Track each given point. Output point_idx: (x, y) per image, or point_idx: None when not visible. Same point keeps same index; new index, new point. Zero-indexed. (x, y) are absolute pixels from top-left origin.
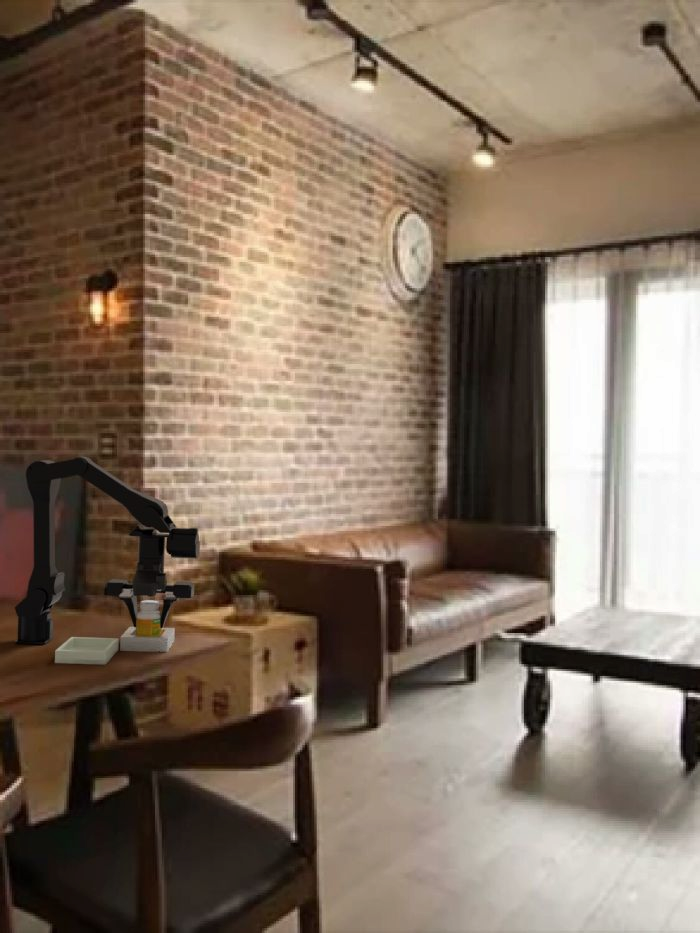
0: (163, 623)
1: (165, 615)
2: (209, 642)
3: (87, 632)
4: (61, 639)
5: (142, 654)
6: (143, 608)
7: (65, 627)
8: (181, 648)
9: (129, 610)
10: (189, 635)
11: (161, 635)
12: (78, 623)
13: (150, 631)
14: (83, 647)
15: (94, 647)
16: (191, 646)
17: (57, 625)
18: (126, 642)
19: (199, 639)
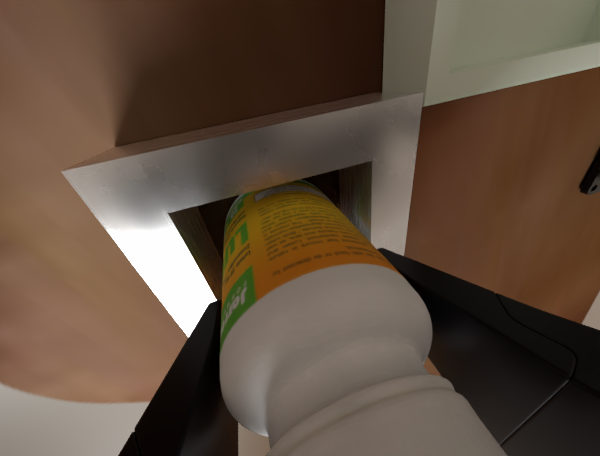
0: (193, 329)
1: (150, 410)
2: (71, 366)
3: (481, 280)
4: (556, 190)
5: (225, 34)
6: (425, 390)
7: (520, 292)
8: (104, 248)
9: (531, 309)
10: None
11: None
12: None
13: (258, 224)
14: (552, 14)
15: (503, 32)
16: (88, 294)
17: (532, 296)
18: (364, 100)
19: (145, 371)
